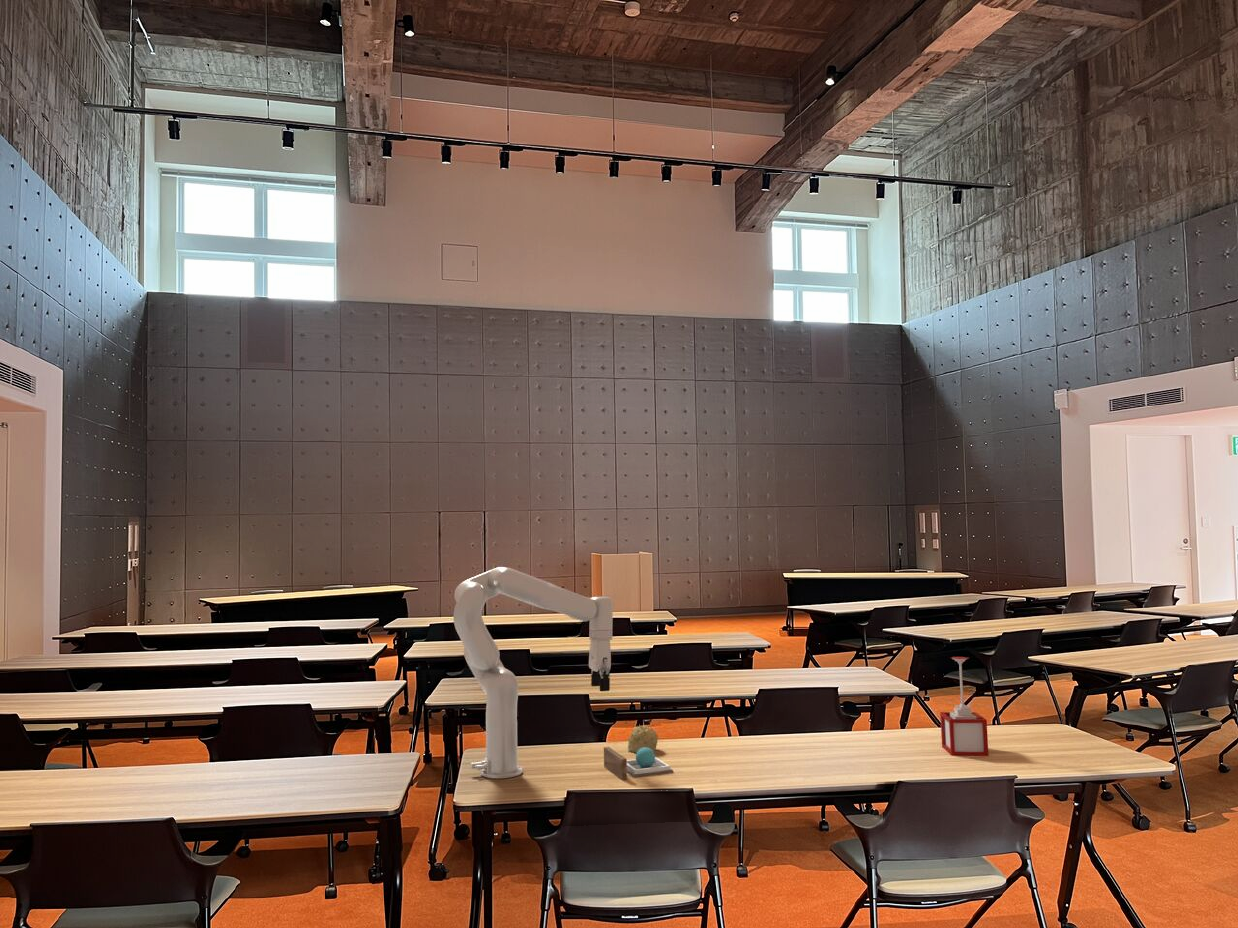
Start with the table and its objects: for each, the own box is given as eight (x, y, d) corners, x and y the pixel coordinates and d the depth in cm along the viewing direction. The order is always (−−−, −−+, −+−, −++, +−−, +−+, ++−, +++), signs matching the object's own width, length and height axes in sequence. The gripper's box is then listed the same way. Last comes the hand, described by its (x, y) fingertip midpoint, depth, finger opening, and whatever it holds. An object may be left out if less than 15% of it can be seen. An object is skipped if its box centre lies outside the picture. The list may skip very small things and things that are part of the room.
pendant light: (977, 747, 281) (972, 655, 283) (988, 755, 269) (983, 660, 272) (942, 746, 282) (937, 655, 284) (951, 755, 271) (946, 660, 273)
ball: (640, 770, 258) (639, 750, 258) (632, 765, 263) (632, 745, 264) (658, 768, 260) (658, 748, 260) (650, 763, 265) (650, 744, 266)
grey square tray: (633, 777, 253) (633, 770, 253) (618, 766, 265) (618, 760, 265) (673, 772, 258) (673, 766, 258) (656, 761, 270) (656, 756, 270)
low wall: (621, 780, 250) (621, 759, 251) (604, 766, 265) (603, 747, 266) (626, 779, 251) (626, 758, 251) (608, 766, 266) (608, 746, 266)
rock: (649, 756, 290) (637, 729, 294) (668, 745, 283) (655, 716, 287) (628, 764, 283) (616, 736, 287) (647, 752, 276) (635, 723, 280)
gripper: (582, 632, 283) (582, 684, 281) (597, 638, 266) (596, 693, 265) (604, 632, 285) (603, 683, 283) (619, 637, 269) (619, 692, 267)
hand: (600, 688), depth 274 cm, fingers open, 9 cm apart
